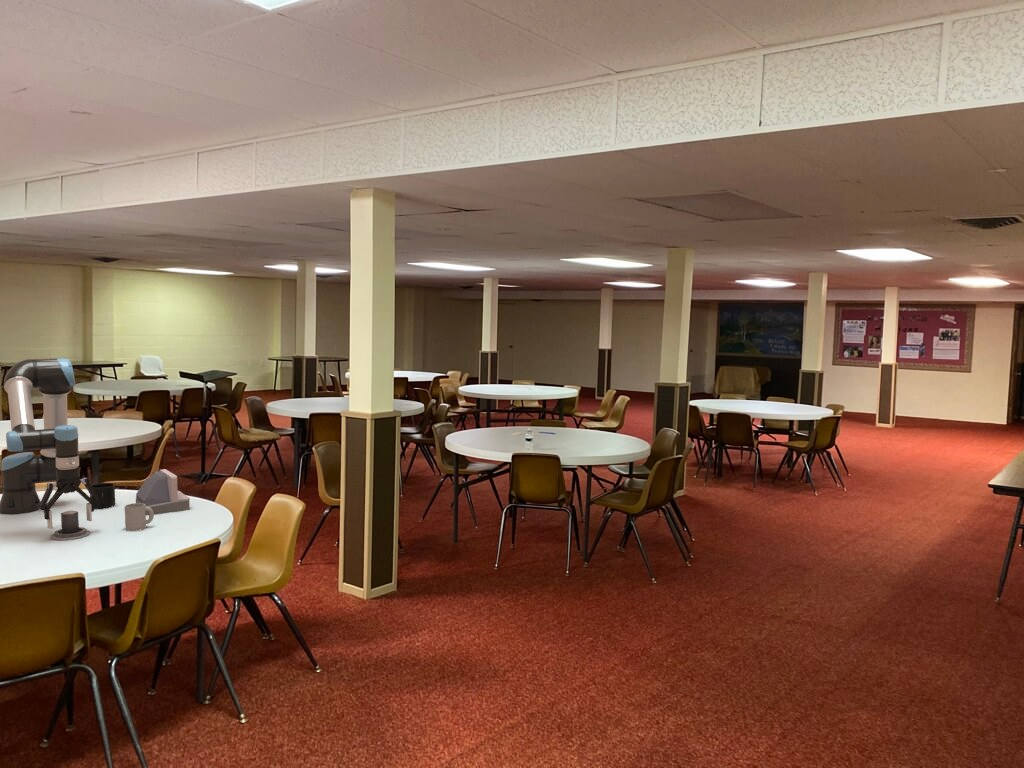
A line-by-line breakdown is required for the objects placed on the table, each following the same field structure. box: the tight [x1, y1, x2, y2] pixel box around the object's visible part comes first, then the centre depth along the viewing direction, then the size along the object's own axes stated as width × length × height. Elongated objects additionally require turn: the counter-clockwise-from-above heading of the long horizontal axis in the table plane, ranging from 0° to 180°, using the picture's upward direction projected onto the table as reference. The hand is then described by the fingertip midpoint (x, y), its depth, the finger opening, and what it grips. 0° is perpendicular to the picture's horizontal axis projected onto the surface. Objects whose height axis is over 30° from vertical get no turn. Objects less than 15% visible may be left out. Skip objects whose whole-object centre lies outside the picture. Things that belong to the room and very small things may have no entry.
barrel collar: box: [49, 526, 91, 541], centre depth 298 cm, size 13×13×2 cm
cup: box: [124, 502, 155, 531], centre depth 309 cm, size 7×10×9 cm
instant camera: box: [135, 468, 191, 516], centre depth 339 cm, size 21×21×15 cm
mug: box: [89, 482, 116, 510], centre depth 340 cm, size 9×12×9 cm
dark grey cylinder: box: [60, 510, 80, 534], centre depth 298 cm, size 6×6×8 cm
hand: (70, 524), depth 298 cm, fingers open, 13 cm apart
